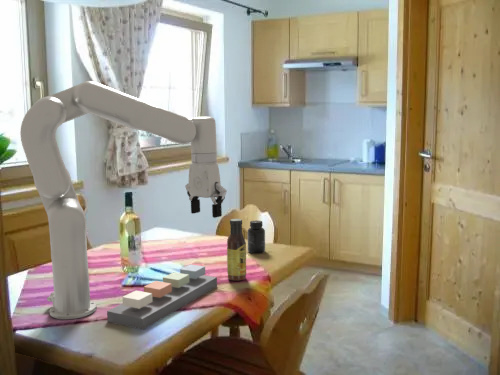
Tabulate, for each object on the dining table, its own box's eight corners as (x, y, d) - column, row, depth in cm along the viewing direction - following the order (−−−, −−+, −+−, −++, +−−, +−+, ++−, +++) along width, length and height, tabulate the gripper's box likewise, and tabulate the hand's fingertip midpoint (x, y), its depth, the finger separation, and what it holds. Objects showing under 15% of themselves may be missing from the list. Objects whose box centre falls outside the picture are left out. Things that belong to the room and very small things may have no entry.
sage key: (163, 285, 163) (162, 277, 162) (174, 279, 167) (173, 272, 167) (178, 287, 160) (178, 280, 160) (189, 282, 165) (189, 274, 165)
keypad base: (107, 321, 147) (107, 311, 146) (185, 281, 179) (185, 272, 178) (143, 329, 141) (142, 318, 141) (217, 286, 173) (216, 277, 173)
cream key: (122, 305, 147) (122, 296, 146) (136, 298, 152) (135, 290, 151) (139, 308, 144) (138, 300, 144) (152, 301, 149) (152, 293, 149)
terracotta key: (144, 294, 155) (143, 286, 154) (156, 288, 160) (155, 280, 159) (160, 297, 152) (159, 289, 152) (171, 291, 157) (171, 283, 157)
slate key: (180, 276, 170) (180, 269, 170) (190, 271, 175) (190, 264, 175) (195, 279, 168) (195, 271, 168) (205, 273, 173) (205, 266, 172)
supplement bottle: (267, 253, 210) (267, 222, 209) (250, 254, 209) (249, 224, 207) (262, 248, 217) (262, 219, 215) (245, 250, 215) (245, 220, 214)
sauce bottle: (244, 282, 177) (243, 222, 174) (225, 281, 178) (224, 221, 175) (248, 275, 183) (247, 218, 180) (230, 275, 185) (228, 217, 182)
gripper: (176, 158, 166) (178, 213, 169) (214, 161, 154) (216, 220, 157) (194, 156, 171) (196, 209, 174) (233, 159, 159) (235, 216, 162)
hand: (206, 214), depth 165 cm, fingers open, 9 cm apart
